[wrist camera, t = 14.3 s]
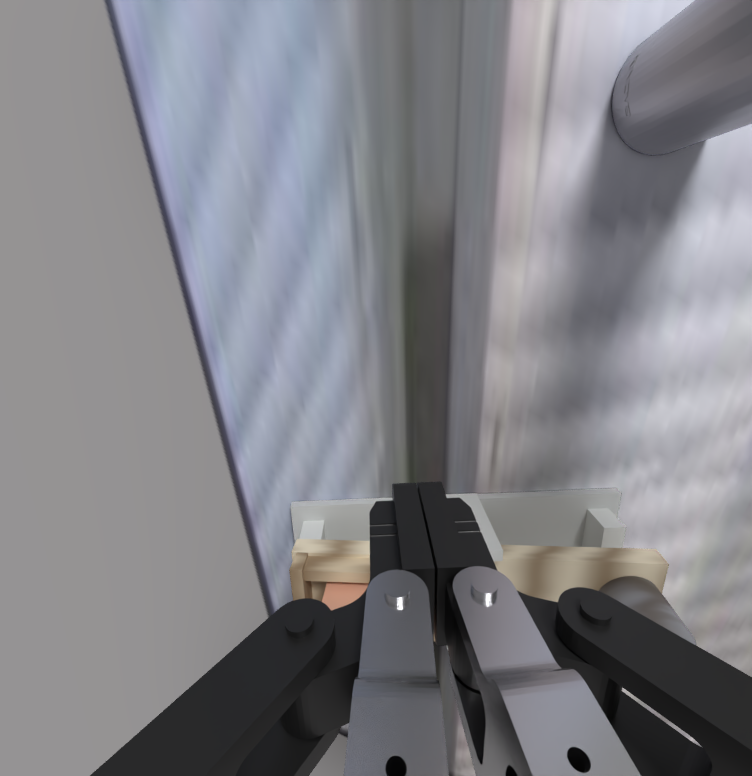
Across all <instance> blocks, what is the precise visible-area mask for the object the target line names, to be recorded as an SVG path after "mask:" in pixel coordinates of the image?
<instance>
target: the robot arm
mask: <svg viewBox="0 0 752 776" xmlns="http://www.w3.org/2000/svg"><path fill="white" fill-rule="evenodd" d="M612 111H613V118H614V123H615V126H616V128H617V131H618V133H619V135H620V136H621V138H622V139H623V141H624V142H625V143H626V144H627V145H629V146H630V147H631V148H632V149H634V150H636V151H638V152H640V153H643V154H648V155H662V154H666V153H669V152H673V151H676V150H679V149H681V148H684V147H687V146H690V145H692V144H695V143H698V142H701V141H704V140H707V139H710V138H713V137H715V136H718V135H721V134H724V133H727V132H729V131H732V130H735V129H738V128H740V127H743V126H746V125H749V124H752V0H695V1H694V2H692V3H691V4H690V5H689V6H687V7H686V8H685V9H684V10H682V11H681V12H680V13H678V14H677V15H676V16H675V17H673V18H672V19H671V20H670V21H668V22H667V23H666V24H665V25H663V26H662V27H661V28H660V29H659V30H657V31H656V32H655V33H654V34H652V35H651V36H650V37H649V38H647V39H646V40H645V41H644V42H642V43H641V44H640V45H639V46H638V47H637V48H636V49H635V50H634V51H633V52H632V53H631V55H630V56H629V57H628V59H627V60H626V62H625V63H624V65H623V67H622V68H621V70H620V73H619V75H618V78H617V80H616V83H615V88H614V92H613V101H612ZM392 499H393V500H391V501H376V502H375V504H374V506H373V507H372V509H371V510H370V512H369V519H370V581H369V585H368V587H367V589H366V590H365V592H364V593H363V594H362V595H361V596H360V597H359V598H358V599H357V600H355V601H354V602H352V603H350V604H348V605H345V606H343V607H340V608H337V609H334V610H330V608H329V607H328V606H327V605H326V604H325V603H323V602H321V601H319V600H316V599H311V598H303V599H298V600H294V601H291V602H289V603H287V604H285V605H284V606H282V607H281V608H279V609H278V610H277V611H276V612H275V613H274V614H273V615H271V616H270V617H269V618H268V619H267V620H266V621H265V622H263V623H262V624H261V625H260V626H259V627H258V628H257V629H256V630H254V631H253V632H252V633H251V634H250V635H249V636H248V637H246V638H245V639H244V640H243V641H242V642H241V643H240V644H239V645H238V646H236V647H235V648H234V649H233V650H232V651H231V652H230V653H228V654H227V655H226V656H225V657H224V658H223V659H222V660H220V662H218V663H217V664H216V665H215V666H214V667H213V668H212V669H210V670H209V671H208V672H207V673H206V674H205V675H203V676H202V677H201V678H200V679H199V680H198V681H197V682H196V683H194V684H193V685H192V686H191V687H190V688H189V689H188V690H186V691H185V692H184V693H183V694H182V695H181V696H180V697H179V698H177V699H176V700H175V701H174V702H173V703H172V704H171V705H170V706H168V707H167V708H166V709H165V710H164V711H163V712H162V713H160V714H159V715H158V716H157V717H156V718H155V719H154V720H153V721H152V722H150V723H149V724H148V725H147V726H146V727H145V728H144V729H142V730H141V731H140V732H139V733H138V734H137V735H136V736H134V737H133V738H132V739H131V740H130V741H129V742H128V743H126V744H125V745H124V746H123V747H122V748H121V749H120V750H119V751H117V752H116V753H115V754H114V755H113V756H112V757H111V758H110V759H109V760H107V761H106V762H105V763H104V764H103V765H102V766H100V767H99V768H98V769H97V770H96V771H95V772H94V773H93V774H91V775H90V776H309V775H310V773H311V772H312V770H313V769H314V768H315V766H316V765H317V763H318V762H319V761H320V759H321V758H322V756H323V755H324V754H325V752H326V751H327V750H328V748H329V746H330V745H331V744H332V742H333V741H334V740H335V738H336V736H337V735H338V733H339V730H340V728H341V726H343V725H345V724H347V723H349V731H348V741H347V750H346V760H345V769H344V776H449V773H448V763H447V752H446V742H445V732H444V722H443V712H442V702H441V692H440V685H439V681H438V680H437V678H436V669H435V658H434V647H433V646H434V636H435V641H436V646H444V645H447V646H448V651H449V656H450V680H451V685H452V688H453V692H454V696H455V699H456V703H457V707H458V710H459V714H460V718H461V721H462V725H463V729H464V732H465V736H466V740H467V743H468V747H469V751H470V754H471V758H472V762H473V765H474V769H475V773H476V776H752V677H750V676H748V675H747V674H745V673H743V672H741V671H740V670H738V669H736V668H734V667H733V666H731V665H729V664H727V663H726V662H724V661H722V660H720V659H719V658H717V657H715V656H713V655H712V654H710V653H708V652H706V651H705V650H703V649H701V648H699V647H698V646H696V645H694V644H692V643H691V642H689V641H687V640H685V639H684V638H682V637H680V636H678V635H677V634H675V633H673V632H671V631H670V630H668V629H666V628H664V627H663V626H661V625H659V624H657V623H656V622H654V621H652V620H650V619H649V618H647V617H645V616H643V615H642V614H640V613H638V612H636V611H635V610H633V609H631V608H629V607H628V606H626V605H624V604H622V603H621V602H619V601H617V600H615V599H614V598H612V597H610V596H608V595H606V594H604V593H602V592H600V591H597V590H594V589H590V588H584V587H576V588H570V589H568V590H566V591H564V592H563V593H562V594H561V595H560V597H559V600H558V602H554V601H550V600H545V599H541V598H536V597H532V596H529V595H526V594H524V593H521V592H519V591H517V590H516V588H515V587H514V585H513V583H512V582H511V581H510V580H509V579H508V578H507V577H506V576H505V575H504V574H502V573H500V572H499V571H497V568H496V566H495V563H494V561H493V559H492V556H491V554H490V552H489V549H488V547H487V544H486V542H485V540H484V537H483V535H482V533H481V532H480V528H479V525H478V523H477V522H476V518H475V516H474V514H473V511H472V509H471V507H470V506H469V505H468V504H466V503H465V502H464V501H463V500H462V499H461V498H447V497H446V494H445V491H444V488H443V485H442V483H441V482H421V483H417V485H416V483H399V484H392ZM622 687H623V688H624V689H626V690H627V691H629V692H630V693H631V694H633V695H634V696H636V697H637V698H638V699H640V700H641V701H643V702H644V703H645V704H647V705H648V706H650V707H651V708H652V709H654V710H655V711H657V712H658V713H659V714H661V715H662V716H664V717H665V718H666V719H668V720H669V721H671V722H672V723H673V724H675V725H676V726H678V727H679V728H680V729H682V730H683V731H685V732H686V733H687V734H689V735H690V736H691V737H693V738H694V739H695V740H696V741H697V742H698V743H699V744H700V745H701V746H702V747H703V748H702V747H700V746H698V745H696V744H694V743H693V742H691V741H690V740H689V739H687V738H686V737H684V736H683V735H682V734H680V733H679V732H678V731H676V730H675V729H673V728H672V727H671V726H669V725H668V724H666V723H665V722H664V721H662V720H661V719H660V718H658V717H657V716H655V715H654V714H653V713H651V712H650V711H649V710H647V709H646V708H644V707H643V706H642V705H640V704H639V703H637V702H636V701H635V700H633V699H632V698H631V697H629V696H628V695H626V694H625V693H624V692H622Z"/></svg>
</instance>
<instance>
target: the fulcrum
mask: <svg viewBox="0 0 752 776" xmlns="http://www.w3.org/2000/svg"><path fill="white" fill-rule="evenodd" d="M621 495H622V492H620V491H619V490H618V489H617V488H605V489H581V490H557V491H534V492H510V493H486V494H477V493H469V494H446V497H447V498H461V499H462V500H463V501H464V502H465V503H466V504H468V505H469V506H470V507H471V509H472V511H473V514H474V516H475V518H476V522H477V523H478V525H479V528H480V532H481V533H482V535H483V537H484V540H485V542H486V544H487V547H488V549H489V552H490V554H491V556H492V559H493V561H503V549H502V547H501V545H530V546H565V547H599V548H622V547H623V542H624V537H625V532H626V526H625V525H624V524H623V523H622V522H621V521H620V520H619V519H618V518H617V516H618V511H619V506H620V500H621ZM391 500H393V499H392V498H368V499H344V500H321V501H297V502H292V504H291V515H292V524H293V532H294V540H295V542H296V540H297V539H321V540H356V541H370V519H369V512H370V510H371V509H372V507H373V506H374V504H375V502H376V501H391ZM446 646H447V645H446ZM447 650H448V646H447Z"/></svg>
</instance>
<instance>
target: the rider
mask: <svg viewBox="0 0 752 776" xmlns="http://www.w3.org/2000/svg"><path fill="white" fill-rule="evenodd" d="M368 585H369V583H350V582H327V584H326V588H325V592H324V595H323V599H322V602H323V603H325V604H326V605H327V606H328V607H329V608H330V610H334V609H337V608H340V607H343V606H345V605H348V604H350V603H352V602H354V601H355V600H357V599H358V598H359V597H360V596H361V595H362V594H363V593H364V592H365V590H366V589H367V587H368Z"/></svg>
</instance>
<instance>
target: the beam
mask: <svg viewBox="0 0 752 776" xmlns="http://www.w3.org/2000/svg"><path fill="white" fill-rule="evenodd" d="M501 547H502V549H503V561H494V563H495V566H496V568H497V571H499V572H500V573H502V574H504V575H505V576H506V577H507V578H508V579H509V580H510V581H511V582H512V583H513V585H514V587H515V588H516V590H517V591H519V592H521V593H524V594H526V595H529V596H532V597H536V598H541V599H545V600H550V601H554V602H558V600H559V597H560V595H561V594H562V593H563V592H564V591H566V590H568V589H570V588H576V587H584V588H590V589H594V590H597V591H600V592H602V593H604V594H606V595H608V596H610V597H612V598H614V599H615V600H617V601H619V602H621V603H622V604H624V605H626V606H628V607H629V608H631V609H633V610H635V611H636V612H638V613H640V614H642V615H643V616H645V617H647V618H649V619H650V620H652V621H654V622H656V623H657V624H659V625H661V626H663V627H664V628H666V629H668V630H670V631H671V632H673V633H675V634H677V635H678V636H680V637H682V638H684V639H685V640H687V641H689V642H691V643H692V644H694V645H696V641H695V638H694V636H693V635H692V633H691V632H690V631H689V629H688V628H687V627H686V625H685V624H684V623H683V621H682V620H681V619H680V617H679V616H678V615H677V613H676V612H675V611H674V609H673V608H672V607H671V605H670V604H669V603H668V601H667V600H666V599H665V597H664V596H663V595H662V590H663V586H664V582H665V578H666V574H667V570H668V566H669V564H668V563H667V561H666V560H665V559H664V558H663V557H662V555H661V554H660V553H659V552H658V551H657V550H656V549H634V548H599V547H565V546H530V545H501ZM292 560H293V562H292V565H291V567H290V570H289V571H290V579H291V587H292V595H293V601H294V600H298V599H303V598H311V599H316V600H319V601H321V602H322V599H323V595H324V592H325V588H326V584H327V582H350V583H369V581H370V541H356V540H321V539H297V540H296V542H295V545H294V547H293V550H292ZM434 641H435V636H434Z"/></svg>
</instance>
